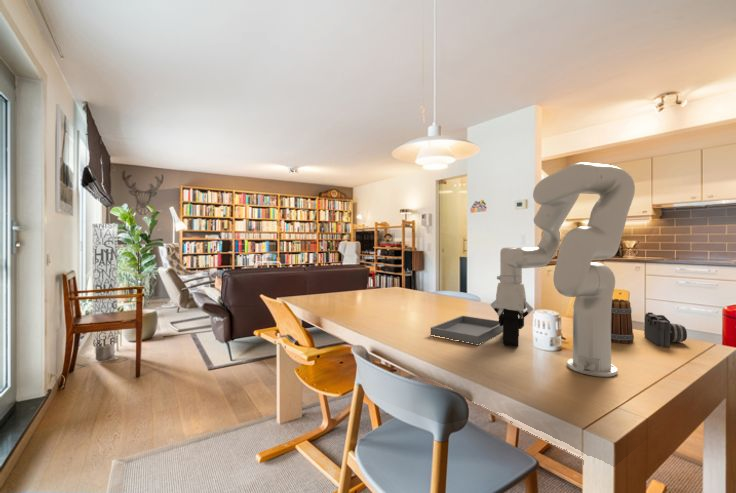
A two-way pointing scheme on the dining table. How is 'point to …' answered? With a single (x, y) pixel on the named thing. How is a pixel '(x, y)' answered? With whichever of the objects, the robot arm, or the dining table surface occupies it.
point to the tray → (468, 329)
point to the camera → (663, 330)
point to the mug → (621, 322)
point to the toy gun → (510, 327)
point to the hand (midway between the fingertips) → (511, 326)
